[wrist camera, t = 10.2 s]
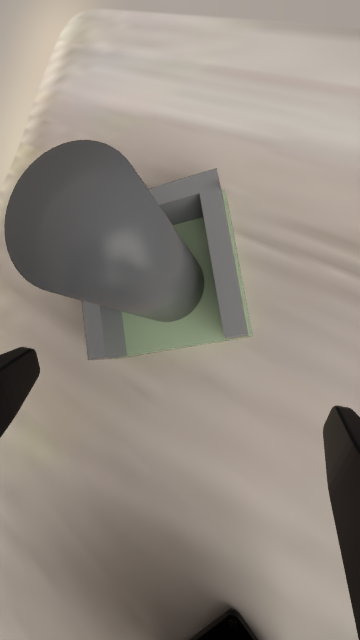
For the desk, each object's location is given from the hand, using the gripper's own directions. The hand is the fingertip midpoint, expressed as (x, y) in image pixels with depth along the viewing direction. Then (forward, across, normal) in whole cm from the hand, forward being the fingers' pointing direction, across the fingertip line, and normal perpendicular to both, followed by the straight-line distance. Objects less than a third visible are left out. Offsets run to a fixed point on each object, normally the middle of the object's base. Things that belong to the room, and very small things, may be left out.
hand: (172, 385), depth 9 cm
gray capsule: (+12, +3, +2) cm, 12 cm away
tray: (+13, +3, +2) cm, 14 cm away
